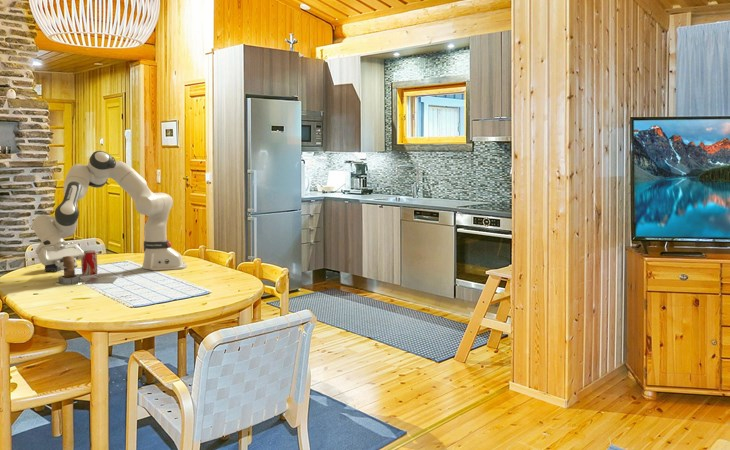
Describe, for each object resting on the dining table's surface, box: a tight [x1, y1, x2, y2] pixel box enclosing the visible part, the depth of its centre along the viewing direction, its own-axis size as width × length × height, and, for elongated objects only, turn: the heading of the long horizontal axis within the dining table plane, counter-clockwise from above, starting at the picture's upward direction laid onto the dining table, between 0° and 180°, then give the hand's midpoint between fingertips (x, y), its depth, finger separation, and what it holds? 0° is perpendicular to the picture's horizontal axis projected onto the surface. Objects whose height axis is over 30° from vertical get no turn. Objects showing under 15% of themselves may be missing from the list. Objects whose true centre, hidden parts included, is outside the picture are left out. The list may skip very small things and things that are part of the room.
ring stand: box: [54, 273, 85, 287], centre depth 287 cm, size 12×12×4 cm
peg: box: [63, 256, 76, 278], centre depth 286 cm, size 4×4×12 cm
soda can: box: [80, 250, 98, 276], centre depth 307 cm, size 7×7×12 cm
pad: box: [84, 276, 118, 285], centre depth 292 cm, size 12×12×1 cm
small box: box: [44, 262, 64, 272], centre depth 321 cm, size 11×6×10 cm, turn 179°
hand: (70, 268), depth 286 cm, fingers closed on peg, 4 cm apart
